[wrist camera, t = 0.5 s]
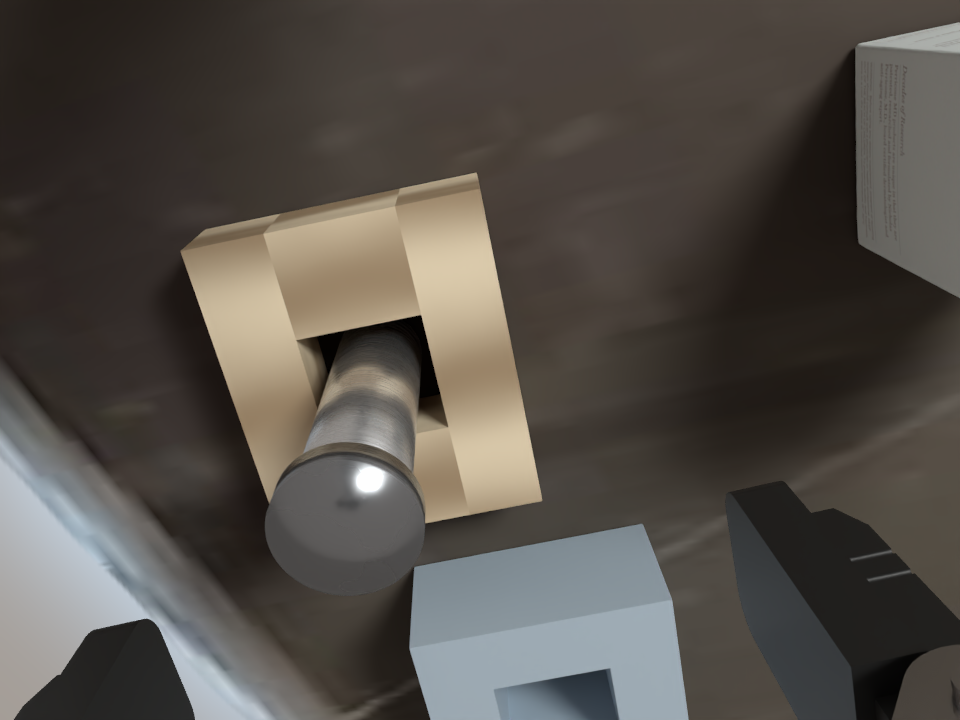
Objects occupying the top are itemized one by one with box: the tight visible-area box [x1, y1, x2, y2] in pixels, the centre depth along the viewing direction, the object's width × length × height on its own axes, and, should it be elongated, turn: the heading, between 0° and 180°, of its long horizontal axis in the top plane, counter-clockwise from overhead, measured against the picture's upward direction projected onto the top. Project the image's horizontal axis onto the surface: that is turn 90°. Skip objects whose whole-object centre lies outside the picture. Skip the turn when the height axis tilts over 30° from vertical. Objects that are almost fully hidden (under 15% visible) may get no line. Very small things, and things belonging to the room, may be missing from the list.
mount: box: [180, 173, 542, 523], centre depth 30 cm, size 12×10×3 cm
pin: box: [265, 319, 426, 596], centre depth 26 cm, size 4×4×12 cm
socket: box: [409, 524, 688, 720], centre depth 35 cm, size 10×10×5 cm
